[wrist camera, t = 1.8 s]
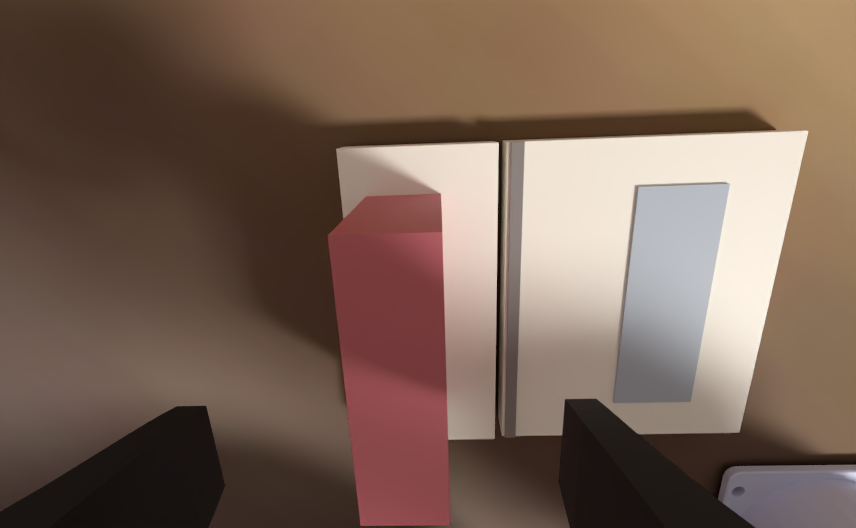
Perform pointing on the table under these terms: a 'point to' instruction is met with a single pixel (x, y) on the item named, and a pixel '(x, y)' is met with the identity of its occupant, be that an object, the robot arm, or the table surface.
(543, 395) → the white flat slab
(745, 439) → the table surface
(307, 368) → the table surface
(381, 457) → the stub
